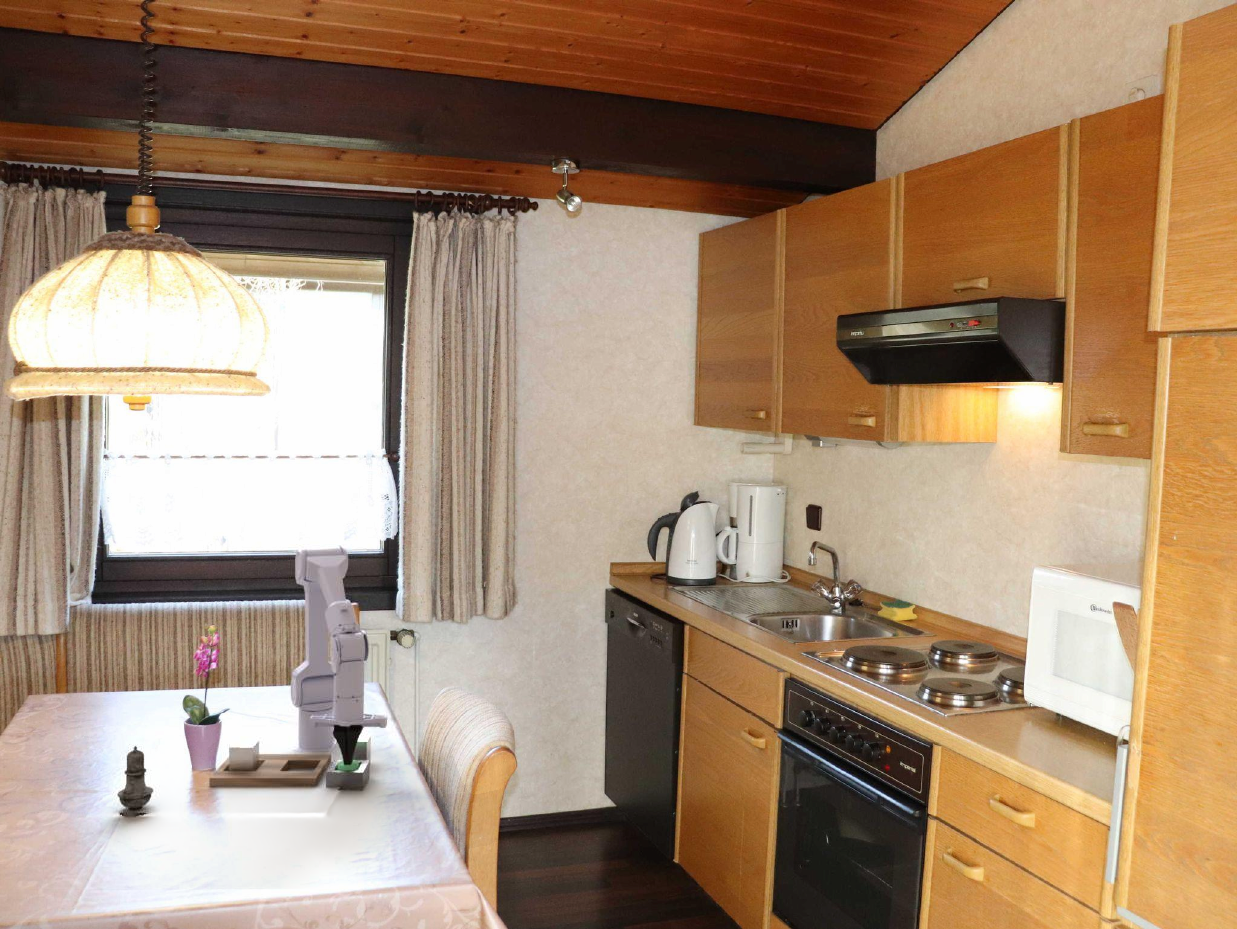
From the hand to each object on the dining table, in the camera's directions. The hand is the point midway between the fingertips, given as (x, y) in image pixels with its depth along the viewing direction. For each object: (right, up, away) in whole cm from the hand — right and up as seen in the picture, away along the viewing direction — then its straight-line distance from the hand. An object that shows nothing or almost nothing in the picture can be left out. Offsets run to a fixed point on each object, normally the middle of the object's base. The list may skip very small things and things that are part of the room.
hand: (348, 763), depth 206 cm
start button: (0, -3, 0) cm, 3 cm away
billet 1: (-21, -3, +3) cm, 22 cm away
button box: (0, -4, 0) cm, 4 cm away
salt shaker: (-34, -4, -16) cm, 38 cm away
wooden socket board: (-16, -4, +3) cm, 16 cm away
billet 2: (-1, -4, +10) cm, 11 cm away
